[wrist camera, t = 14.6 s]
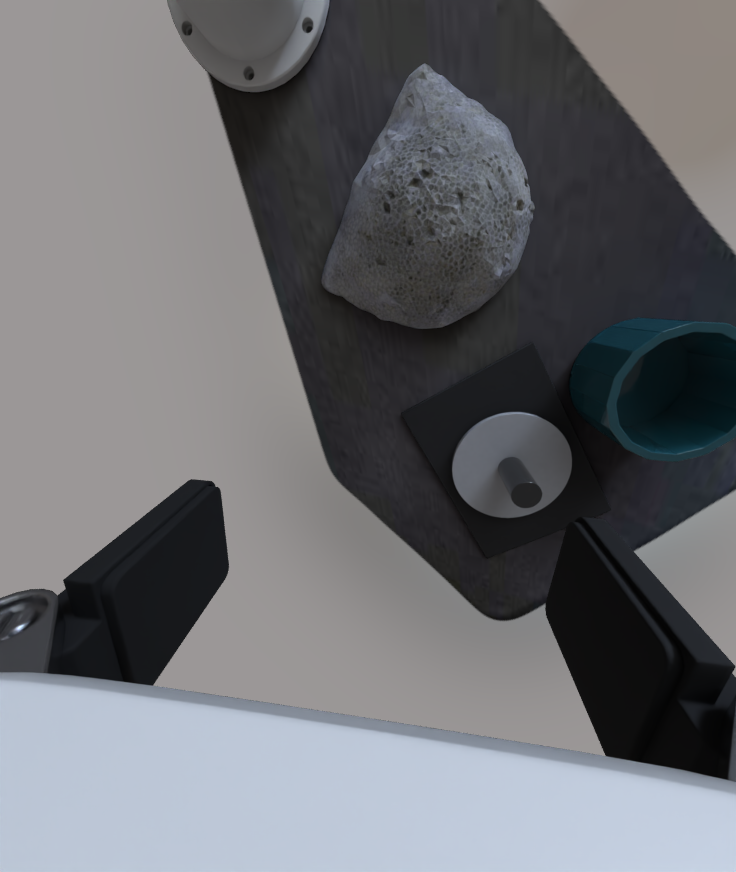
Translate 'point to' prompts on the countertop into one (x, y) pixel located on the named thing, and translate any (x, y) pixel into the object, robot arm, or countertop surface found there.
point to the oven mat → (490, 395)
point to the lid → (511, 464)
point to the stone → (432, 211)
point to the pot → (659, 386)
